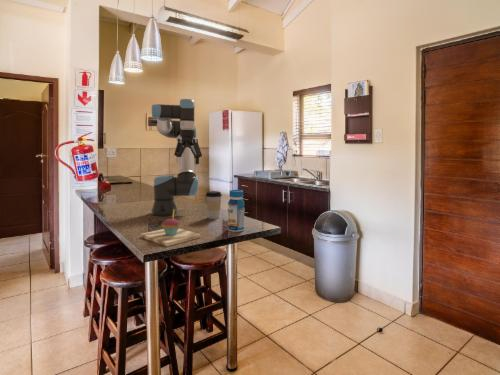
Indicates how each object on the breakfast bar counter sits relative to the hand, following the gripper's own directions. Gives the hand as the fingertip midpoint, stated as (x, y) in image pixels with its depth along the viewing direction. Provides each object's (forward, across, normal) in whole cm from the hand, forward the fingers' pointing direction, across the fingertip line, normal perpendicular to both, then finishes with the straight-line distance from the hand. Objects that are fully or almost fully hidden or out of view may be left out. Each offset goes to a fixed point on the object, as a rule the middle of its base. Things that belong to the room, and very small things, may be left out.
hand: (187, 169), depth 174 cm
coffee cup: (+29, +2, +17) cm, 34 cm away
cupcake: (+27, +18, -24) cm, 40 cm away
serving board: (+29, +17, -24) cm, 41 cm away
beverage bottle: (+29, +30, +6) cm, 42 cm away
